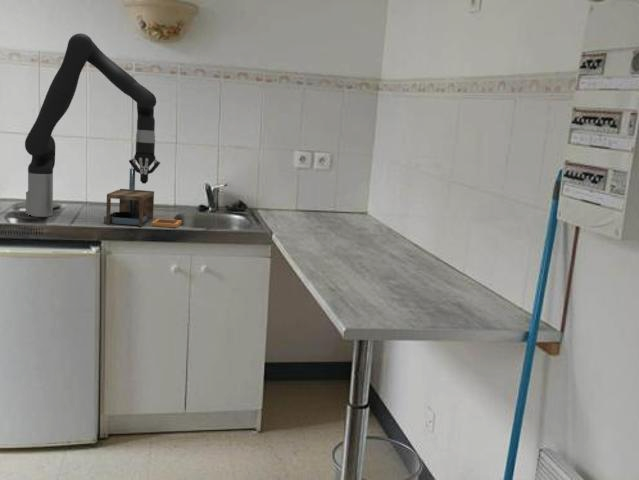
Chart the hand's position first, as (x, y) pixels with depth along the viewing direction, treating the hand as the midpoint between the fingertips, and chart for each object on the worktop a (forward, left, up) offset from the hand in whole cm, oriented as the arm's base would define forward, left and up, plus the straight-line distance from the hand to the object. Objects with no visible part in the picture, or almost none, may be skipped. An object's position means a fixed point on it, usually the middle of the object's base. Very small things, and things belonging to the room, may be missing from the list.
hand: (144, 183), depth 278 cm
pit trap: (+12, -8, -15) cm, 21 cm away
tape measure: (-3, -8, -15) cm, 18 cm away
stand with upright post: (-5, -8, -15) cm, 18 cm away
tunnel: (-3, -8, -15) cm, 18 cm away
